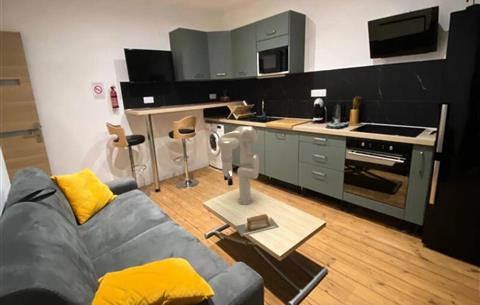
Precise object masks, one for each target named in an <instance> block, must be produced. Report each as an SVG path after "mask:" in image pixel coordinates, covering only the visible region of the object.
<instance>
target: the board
mask: <svg viewBox="0 0 480 305" xmlns="http://www.w3.org/2000/svg"><path fill="white" fill-rule="evenodd" d="M235 228H236V230H237V231H238V233H239V235H240V236H241V237H244V236H245V237H246V236H248V235H253V234H256V233H260V232H261V233H262V232H265V231H268V230H273V229H277V228H280V226H279V225H278V224H277V222H275V220H274V219H273V218H272V217H268V227H265V228H261V229H257V230H253V231H249V230H248V226H247V222H246V223H243V224H238V225H235Z"/></svg>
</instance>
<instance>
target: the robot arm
mask: <svg viewBox="0 0 480 305" xmlns="http://www.w3.org/2000/svg"><path fill="white" fill-rule="evenodd" d="M258 139H259V136H258V133H257V132H256V130H255V128H254V127H253V126H250V125H248V126H247V125H246V126H245V125H244V126H243V125H240V126H238V127H236V128H235V129H234V130H233V131H230V132H227V133H224V134H222V135H221V136H220V137H219V138H218V139H217V145H218V148H220V158H221V160H220V161H221V170H222V171H221V172H222V174H223V178H224V179H223V180H224V181H227V186H228V187H230V186H233V185H234V181H233V178H234V177H233V175H234V174H233V173H234V172H233V163H232V162H233V150H235V149H237V148H238V147H240V153H239V154H240V156H239V157H240V158H239V163H240V165H243V166H240V167H238V168H237V178H238V186H239V199H238V200H237V201H238V202H237V203H239V204H240V205H243V206H246V205H250V204H252V203H253V201H254V200H253V198H252V195H251V194H252V193H251V191H252V190H251V189H252V188H251V181H250V179H253V180H256V179H257V178H258V177H259V173H260V172H259V169H260V168H259V167H260V158H259V155H258V154H256V153H252V152H251V151H252V148H251V147H252V146H251V145H250V144H256V143H257V142H258Z"/></svg>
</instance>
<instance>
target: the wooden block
mask: <svg viewBox="0 0 480 305" xmlns="http://www.w3.org/2000/svg"><path fill="white" fill-rule="evenodd" d="M268 218H269V216H268V215H267V213H264V214H259V215H254V216H251V217H247V218H246V223H247V226H248V230H249V231H253V230H257V229H261V228H265V227H268Z"/></svg>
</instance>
